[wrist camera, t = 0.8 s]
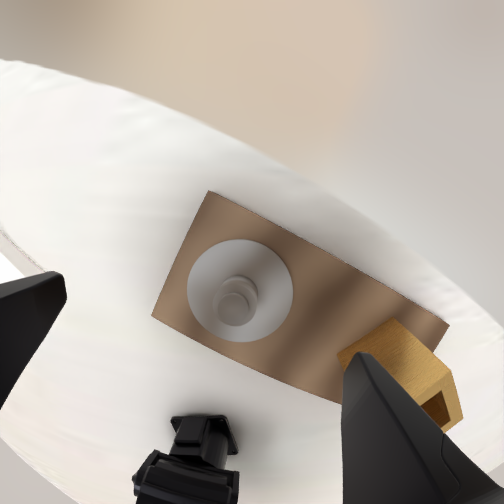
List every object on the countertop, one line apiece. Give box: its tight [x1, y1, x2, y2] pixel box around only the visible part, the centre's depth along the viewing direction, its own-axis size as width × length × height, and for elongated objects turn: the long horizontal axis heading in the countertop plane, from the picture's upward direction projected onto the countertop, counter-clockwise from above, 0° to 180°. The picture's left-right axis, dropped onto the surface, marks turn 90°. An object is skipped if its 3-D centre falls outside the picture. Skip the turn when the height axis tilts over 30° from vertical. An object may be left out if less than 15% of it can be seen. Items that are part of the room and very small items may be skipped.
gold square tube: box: [337, 316, 463, 433], centre depth 18 cm, size 6×6×10 cm
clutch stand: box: [151, 190, 450, 405], centre depth 21 cm, size 26×12×6 cm, turn 62°
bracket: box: [0, 231, 45, 284], centre depth 23 cm, size 13×7×8 cm, turn 62°
